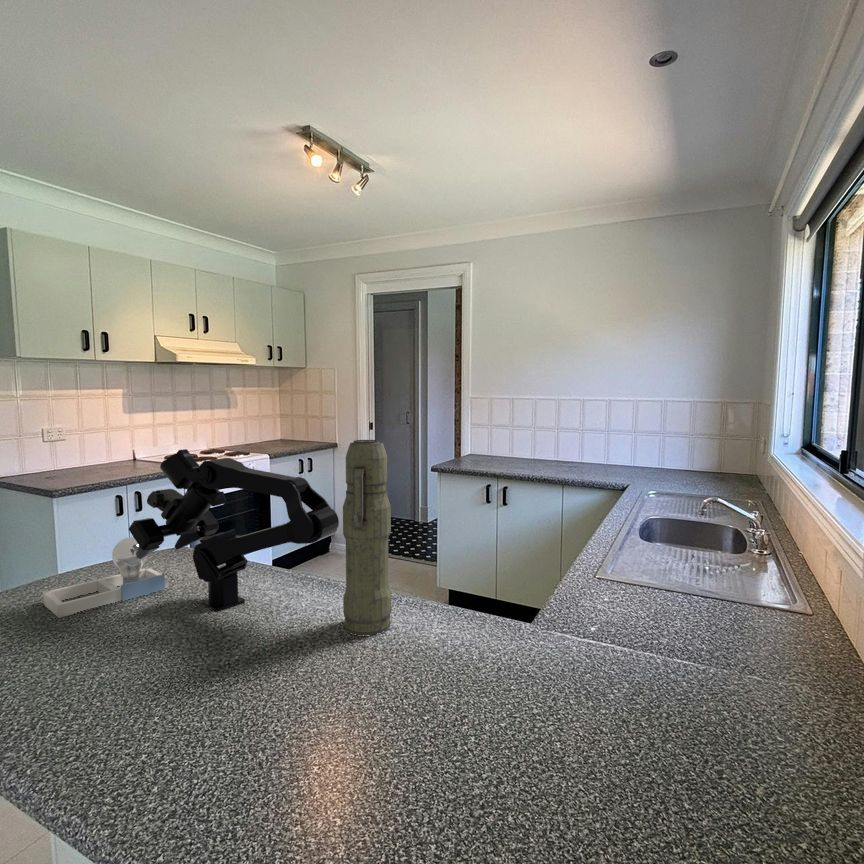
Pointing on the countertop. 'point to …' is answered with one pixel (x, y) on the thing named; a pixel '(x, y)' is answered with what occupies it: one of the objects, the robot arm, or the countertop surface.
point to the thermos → (366, 539)
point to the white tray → (102, 592)
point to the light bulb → (128, 559)
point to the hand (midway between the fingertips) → (158, 552)
